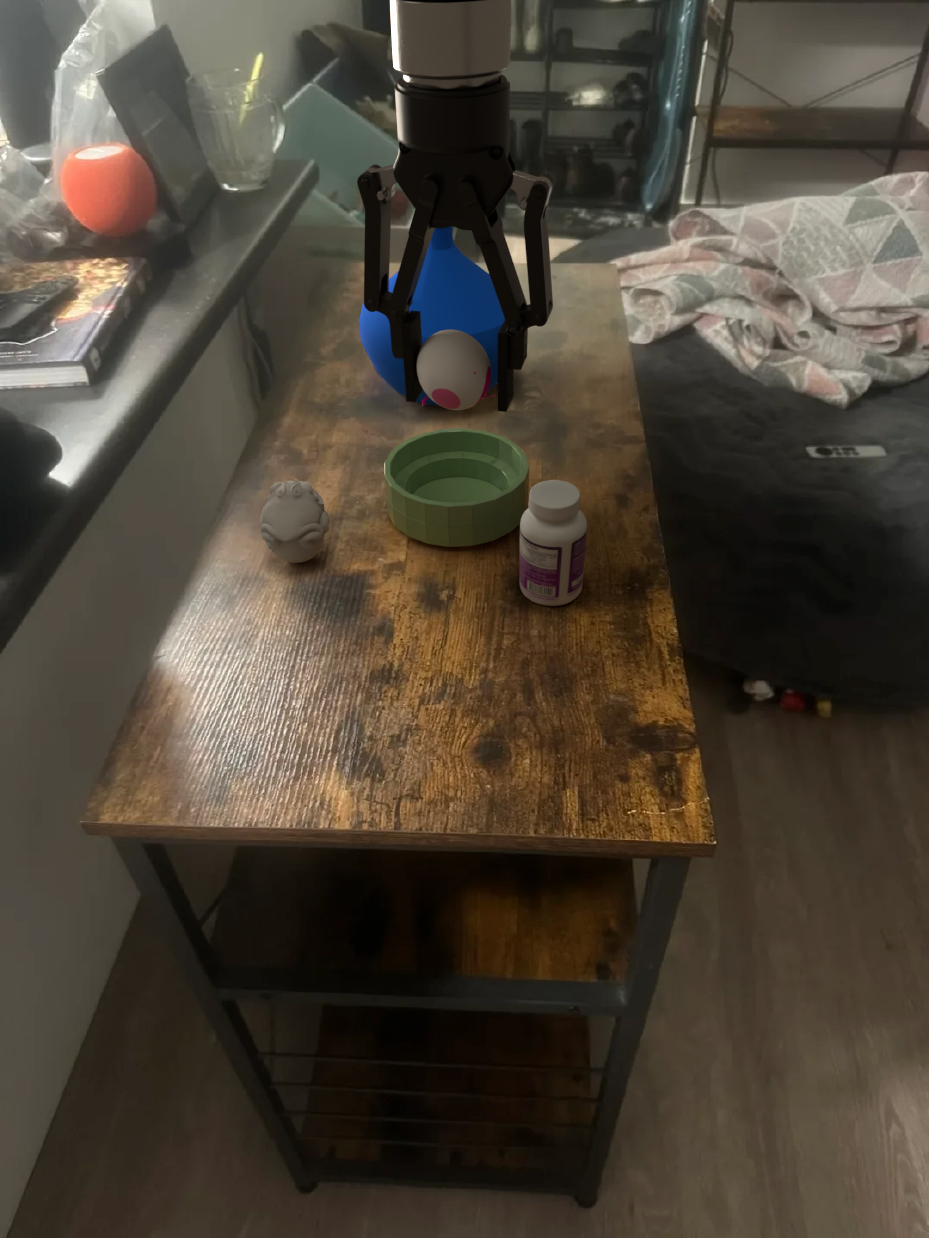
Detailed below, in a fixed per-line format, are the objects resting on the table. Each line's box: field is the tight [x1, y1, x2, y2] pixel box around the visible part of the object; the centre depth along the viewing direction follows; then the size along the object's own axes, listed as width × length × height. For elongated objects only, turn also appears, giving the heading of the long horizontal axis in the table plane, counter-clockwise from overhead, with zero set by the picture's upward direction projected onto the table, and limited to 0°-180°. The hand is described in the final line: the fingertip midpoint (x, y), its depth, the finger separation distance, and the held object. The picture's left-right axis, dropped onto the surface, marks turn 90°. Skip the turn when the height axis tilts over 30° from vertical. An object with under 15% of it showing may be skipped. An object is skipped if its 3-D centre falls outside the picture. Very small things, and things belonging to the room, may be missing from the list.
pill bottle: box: [518, 479, 588, 607], centre depth 72 cm, size 5×5×10 cm
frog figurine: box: [259, 479, 331, 564], centre depth 77 cm, size 6×7×7 cm
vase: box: [358, 226, 505, 407], centre depth 96 cm, size 18×18×19 cm
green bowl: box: [383, 427, 530, 548], centre depth 82 cm, size 13×13×5 cm
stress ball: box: [417, 329, 497, 411], centre depth 71 cm, size 8×8×7 cm
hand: (460, 398), depth 72 cm, fingers closed on stress ball, 7 cm apart
